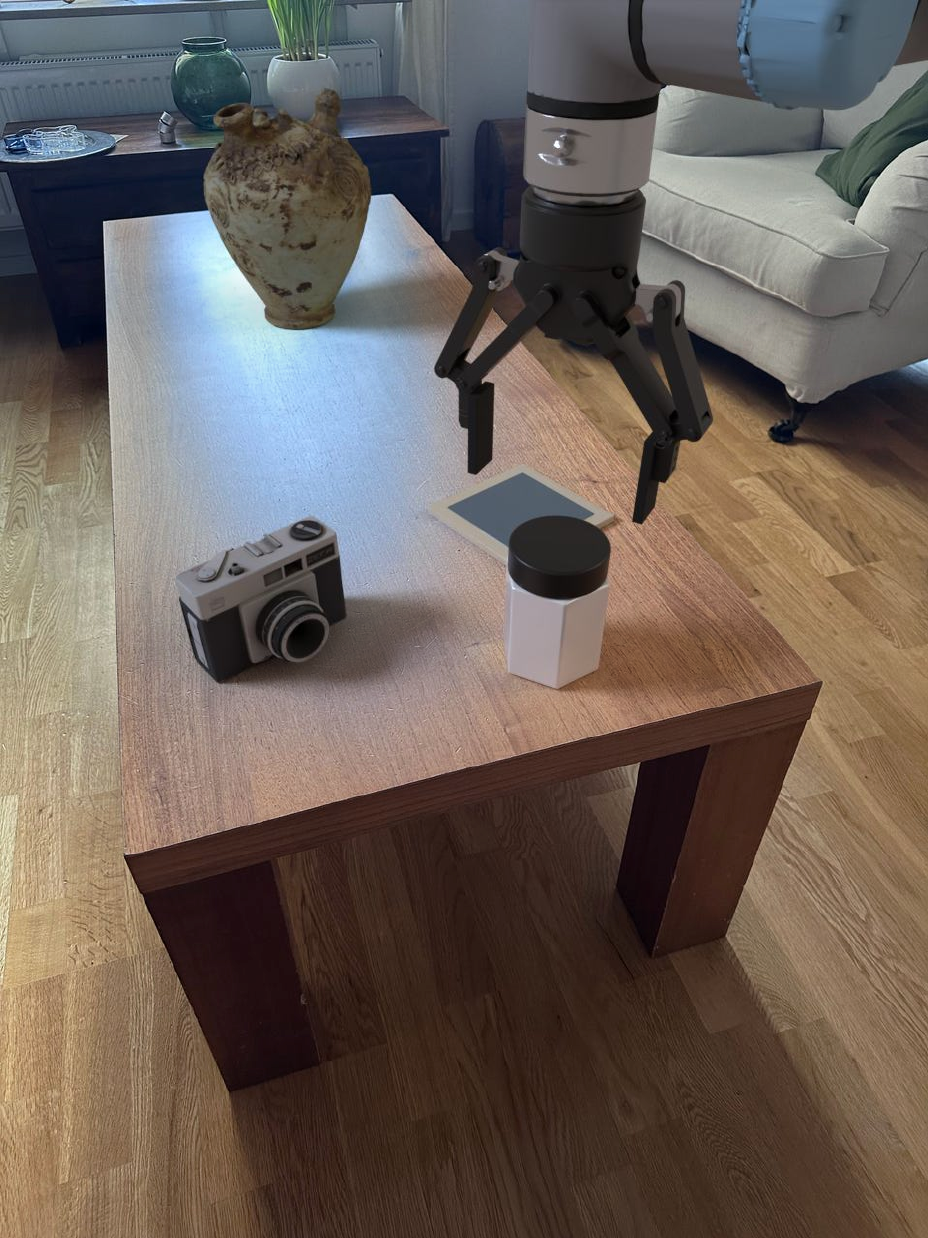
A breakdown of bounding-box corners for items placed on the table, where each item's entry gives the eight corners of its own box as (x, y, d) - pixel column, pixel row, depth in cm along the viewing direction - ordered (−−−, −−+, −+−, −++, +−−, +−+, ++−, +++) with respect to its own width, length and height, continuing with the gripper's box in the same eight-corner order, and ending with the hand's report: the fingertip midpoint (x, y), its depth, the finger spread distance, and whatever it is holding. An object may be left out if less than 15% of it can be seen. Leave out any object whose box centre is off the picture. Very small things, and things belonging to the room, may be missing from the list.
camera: (227, 710, 72) (202, 613, 66) (188, 651, 78) (162, 557, 72) (375, 647, 78) (365, 553, 72) (328, 597, 84) (316, 506, 78)
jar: (613, 641, 79) (630, 530, 71) (581, 700, 73) (595, 586, 65) (522, 612, 82) (528, 503, 74) (484, 667, 76) (486, 554, 68)
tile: (613, 521, 93) (614, 514, 93) (516, 573, 86) (517, 566, 86) (522, 469, 101) (523, 462, 101) (427, 513, 94) (427, 505, 94)
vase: (403, 331, 129) (367, 96, 109) (243, 361, 126) (178, 127, 107) (378, 280, 146) (344, 70, 127) (238, 306, 144) (181, 96, 124)
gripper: (377, 173, 55) (393, 469, 69) (776, 237, 46) (702, 564, 60) (438, 148, 60) (442, 428, 74) (809, 201, 51) (735, 510, 65)
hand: (558, 489), depth 67 cm, fingers open, 13 cm apart
